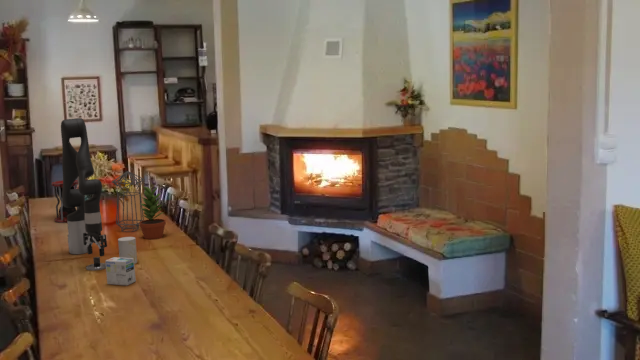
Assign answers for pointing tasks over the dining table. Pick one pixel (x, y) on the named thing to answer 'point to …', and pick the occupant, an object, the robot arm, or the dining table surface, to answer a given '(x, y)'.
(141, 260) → the dining table surface
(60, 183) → the hourglass
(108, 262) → the light bulb box
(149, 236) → the potted plant
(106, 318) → the dining table surface
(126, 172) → the geometric lantern
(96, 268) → the lid
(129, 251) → the light grey cylinder
